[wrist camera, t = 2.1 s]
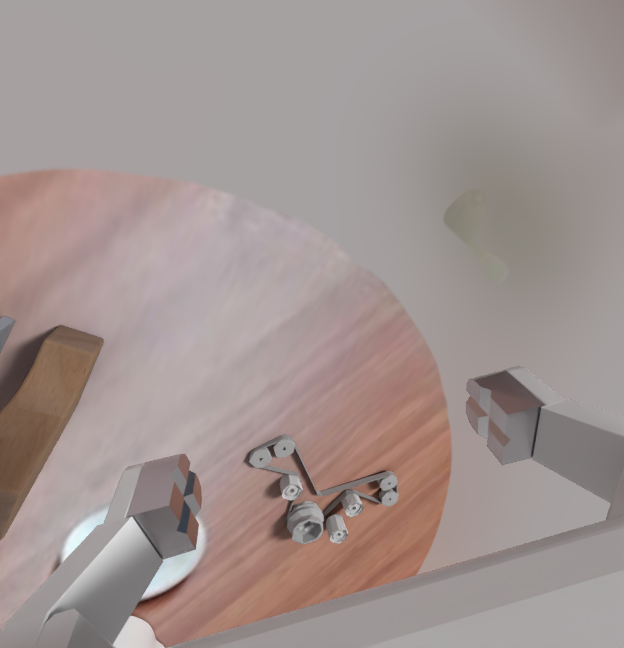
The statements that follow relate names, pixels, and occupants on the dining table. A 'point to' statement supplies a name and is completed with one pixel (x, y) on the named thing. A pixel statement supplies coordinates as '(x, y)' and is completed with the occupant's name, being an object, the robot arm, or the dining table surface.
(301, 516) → the pulley system
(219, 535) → the dining table surface
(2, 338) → the wooden tray
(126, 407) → the dining table surface
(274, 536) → the dining table surface
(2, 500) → the wooden block
